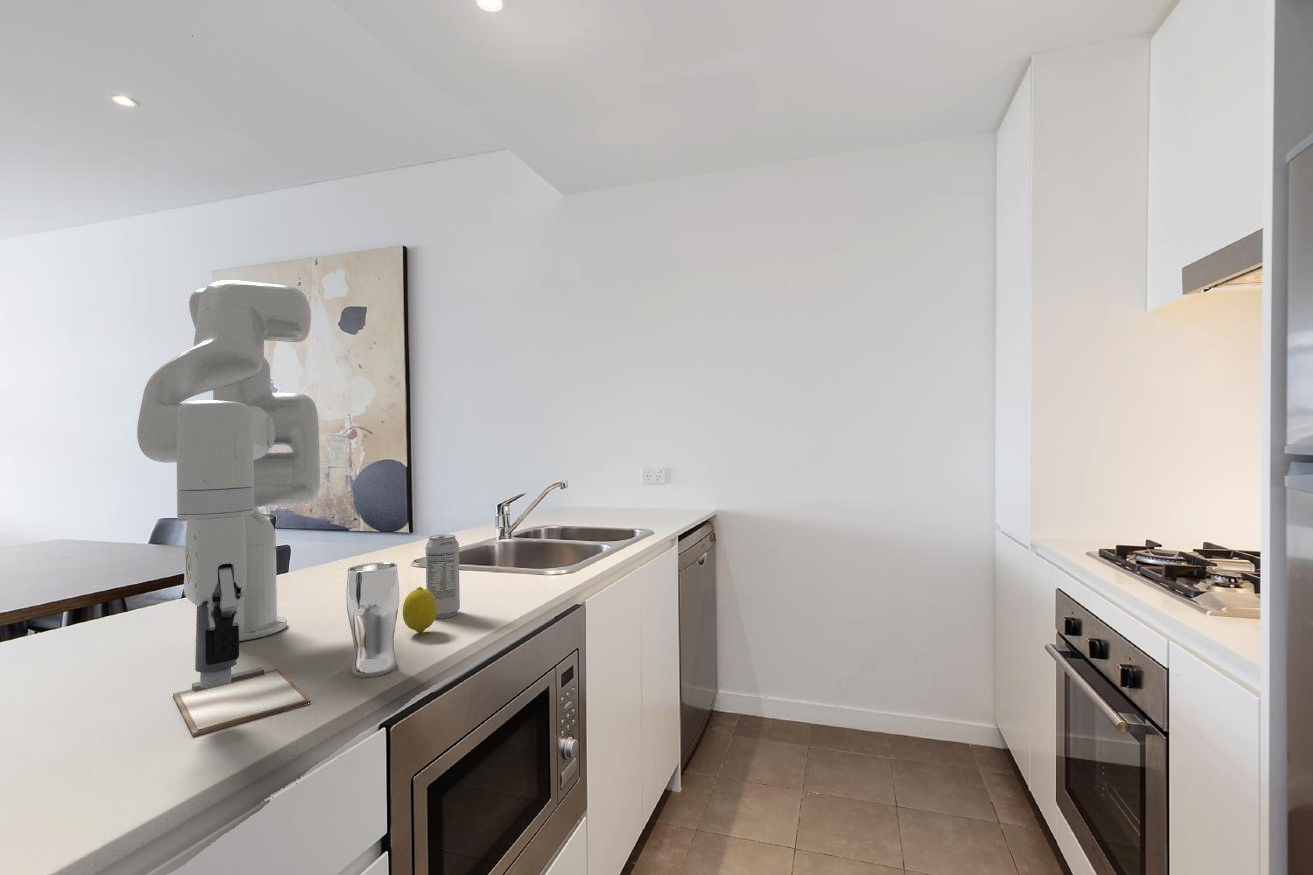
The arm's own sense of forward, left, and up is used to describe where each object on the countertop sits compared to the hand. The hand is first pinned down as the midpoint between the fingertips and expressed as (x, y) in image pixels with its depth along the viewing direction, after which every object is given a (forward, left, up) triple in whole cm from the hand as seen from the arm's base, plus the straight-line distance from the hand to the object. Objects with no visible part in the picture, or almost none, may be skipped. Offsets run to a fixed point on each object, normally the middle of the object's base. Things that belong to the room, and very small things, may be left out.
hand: (218, 655), depth 73 cm
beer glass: (-3, +19, -8) cm, 21 cm away
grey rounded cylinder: (0, 0, -3) cm, 3 cm away
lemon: (-15, +31, -8) cm, 36 cm away
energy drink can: (-23, +39, -8) cm, 46 cm away
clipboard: (-5, +3, -8) cm, 10 cm away
